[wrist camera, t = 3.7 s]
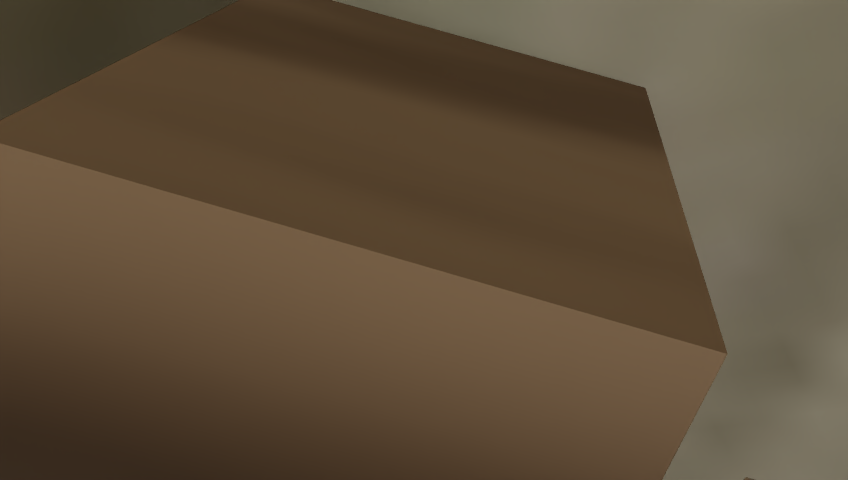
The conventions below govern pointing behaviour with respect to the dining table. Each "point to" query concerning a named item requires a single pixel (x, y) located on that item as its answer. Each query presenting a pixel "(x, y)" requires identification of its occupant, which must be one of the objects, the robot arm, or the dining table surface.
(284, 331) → the walnut block
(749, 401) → the dining table surface
